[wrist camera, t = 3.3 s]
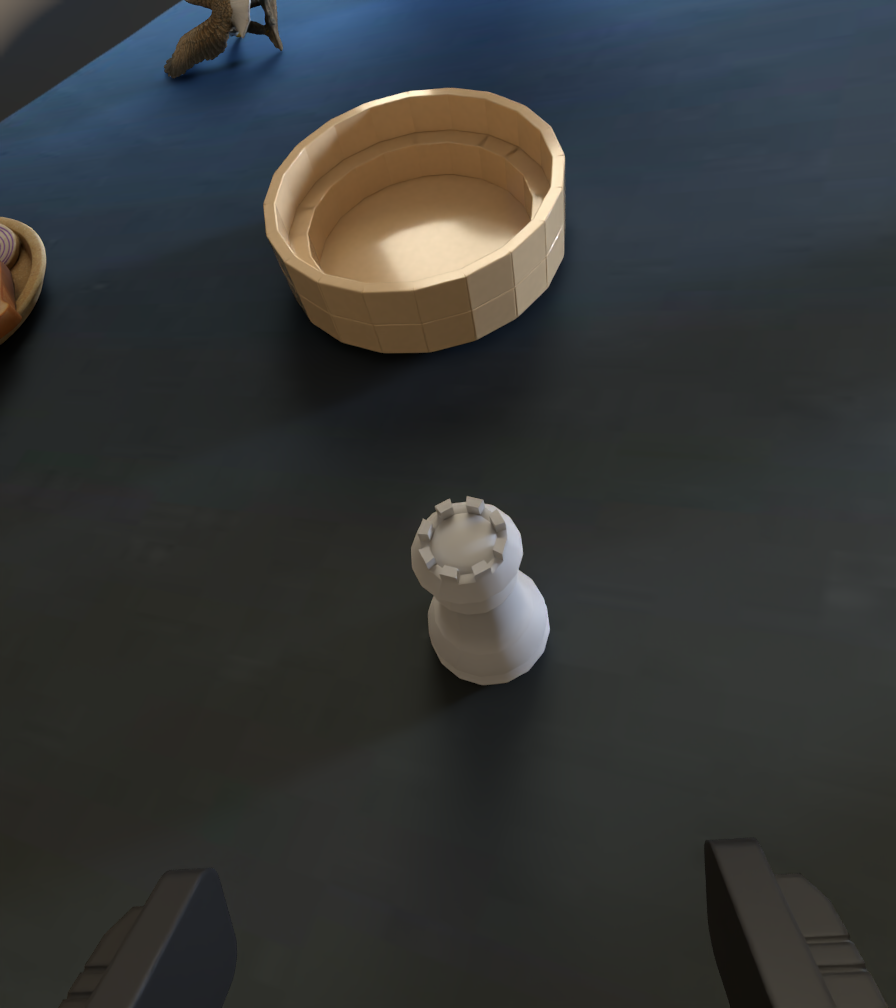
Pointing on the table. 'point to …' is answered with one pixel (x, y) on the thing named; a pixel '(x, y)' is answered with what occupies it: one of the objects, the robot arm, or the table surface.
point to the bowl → (420, 219)
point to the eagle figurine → (221, 32)
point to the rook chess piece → (479, 593)
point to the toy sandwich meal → (19, 274)
